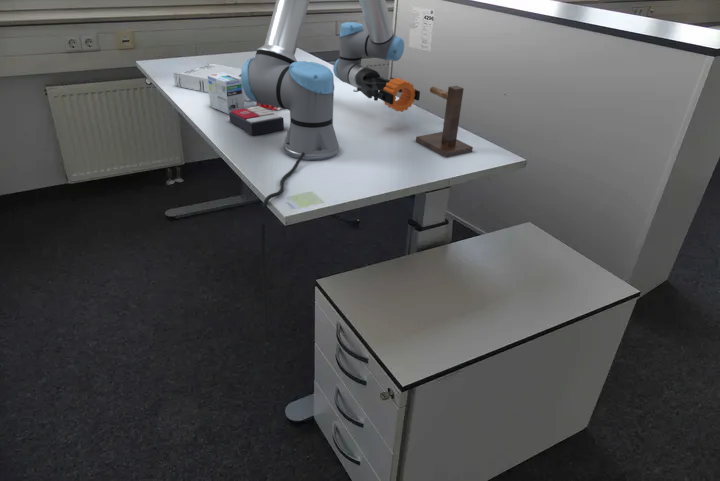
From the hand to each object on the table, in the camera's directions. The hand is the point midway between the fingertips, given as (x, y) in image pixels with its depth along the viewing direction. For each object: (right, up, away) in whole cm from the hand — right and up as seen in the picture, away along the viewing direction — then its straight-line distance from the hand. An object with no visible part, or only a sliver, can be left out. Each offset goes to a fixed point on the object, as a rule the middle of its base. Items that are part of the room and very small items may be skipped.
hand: (405, 97), depth 167 cm
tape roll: (-2, -2, +5) cm, 6 cm away
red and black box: (-46, -7, +6) cm, 47 cm away
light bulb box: (-58, +1, +19) cm, 61 cm away
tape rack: (+11, -14, -1) cm, 18 cm away
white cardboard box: (-63, +14, +40) cm, 76 cm away
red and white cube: (-43, +3, +24) cm, 50 cm away
